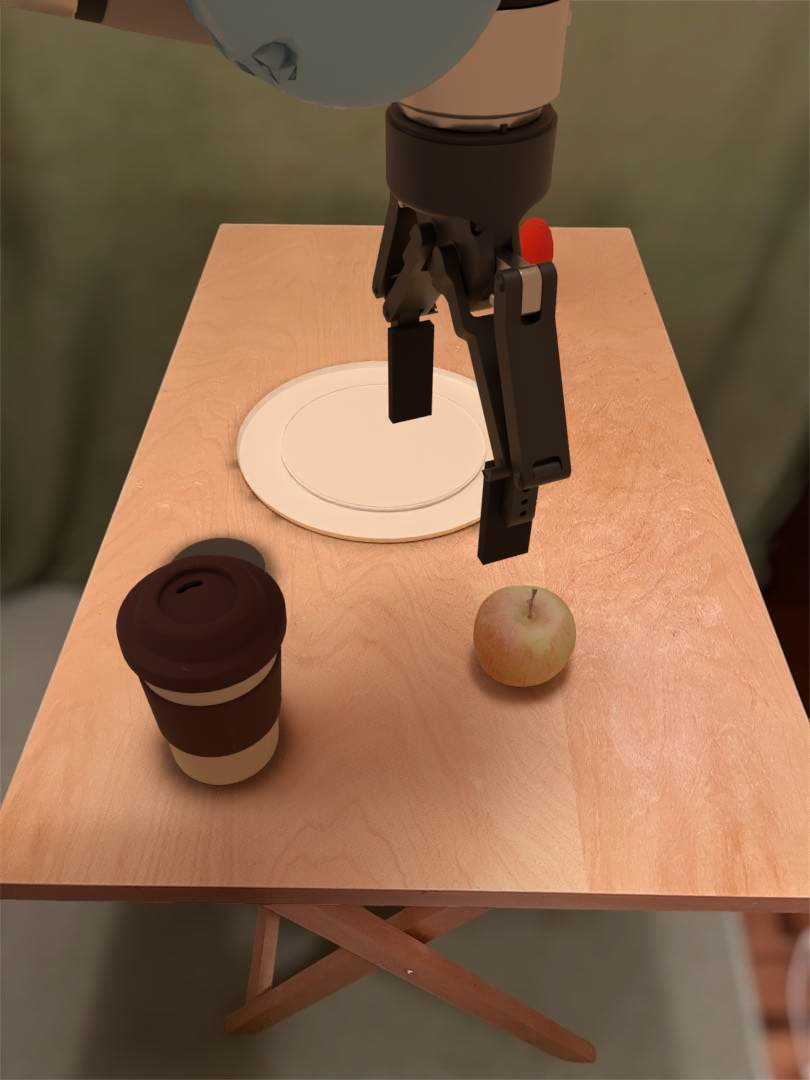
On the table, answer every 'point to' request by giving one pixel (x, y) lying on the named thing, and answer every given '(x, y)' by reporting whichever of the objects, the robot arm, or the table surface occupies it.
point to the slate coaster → (224, 550)
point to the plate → (367, 455)
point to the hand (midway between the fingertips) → (452, 480)
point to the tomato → (536, 241)
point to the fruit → (523, 635)
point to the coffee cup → (209, 661)
